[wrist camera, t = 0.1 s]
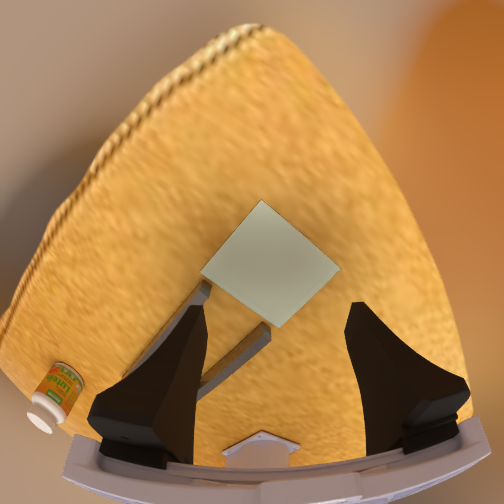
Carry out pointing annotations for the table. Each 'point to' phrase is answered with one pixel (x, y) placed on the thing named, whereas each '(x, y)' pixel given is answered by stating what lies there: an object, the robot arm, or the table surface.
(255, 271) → the pad
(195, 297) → the parallel grey rails
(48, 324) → the table surface
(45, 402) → the supplement bottle
